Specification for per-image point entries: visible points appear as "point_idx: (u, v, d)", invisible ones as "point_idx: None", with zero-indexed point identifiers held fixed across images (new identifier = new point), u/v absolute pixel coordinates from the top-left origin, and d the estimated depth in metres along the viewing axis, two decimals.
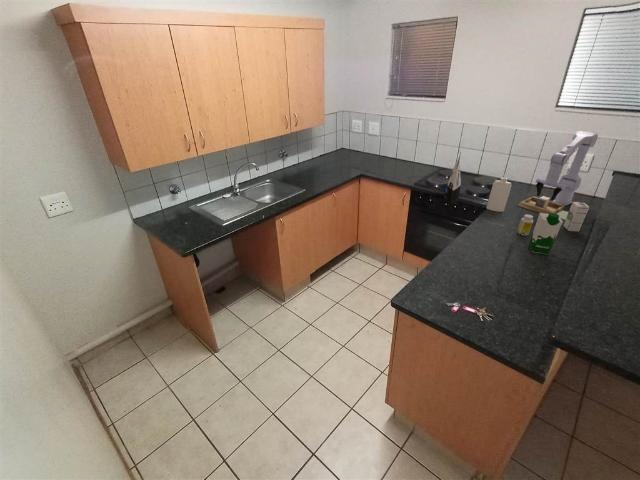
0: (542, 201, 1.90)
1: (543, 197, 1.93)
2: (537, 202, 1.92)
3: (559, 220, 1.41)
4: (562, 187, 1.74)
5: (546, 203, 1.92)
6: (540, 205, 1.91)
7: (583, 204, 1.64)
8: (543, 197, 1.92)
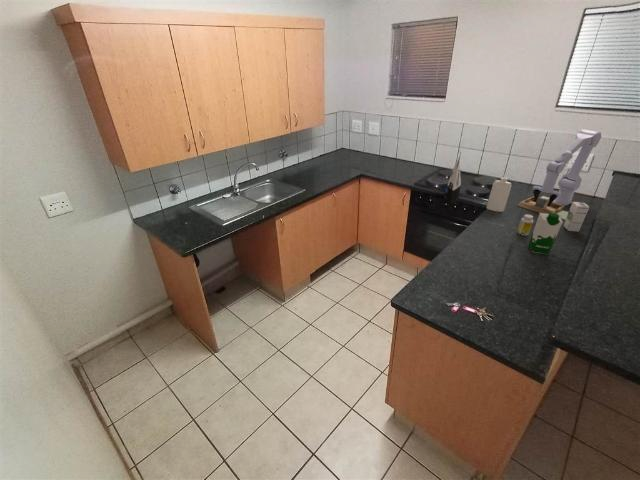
0: (542, 201, 1.90)
1: (543, 197, 1.93)
2: (537, 202, 1.92)
3: (559, 220, 1.41)
4: (558, 194, 1.84)
5: (546, 203, 1.92)
6: (540, 205, 1.91)
7: (583, 204, 1.64)
8: (543, 197, 1.92)
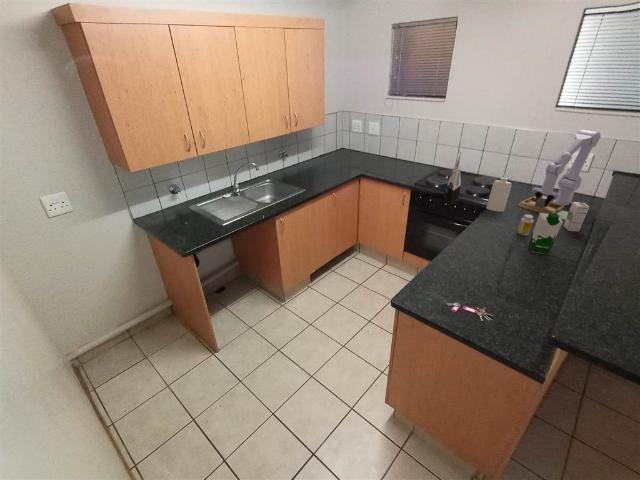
0: (542, 201, 1.90)
1: (543, 197, 1.93)
2: (537, 202, 1.92)
3: (559, 220, 1.41)
4: (557, 195, 1.84)
5: None
6: (540, 205, 1.91)
7: (583, 204, 1.64)
8: (543, 197, 1.92)
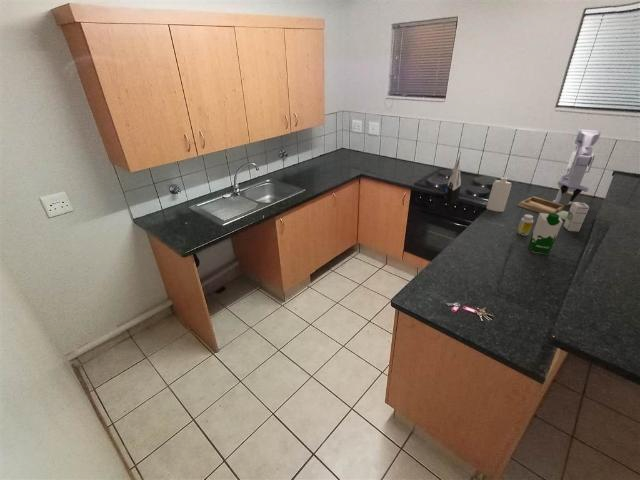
0: (568, 196, 1.78)
1: (569, 192, 1.81)
2: (562, 197, 1.80)
3: (559, 220, 1.41)
4: (585, 189, 1.72)
5: None
6: (566, 200, 1.79)
7: (583, 204, 1.64)
8: (569, 193, 1.80)
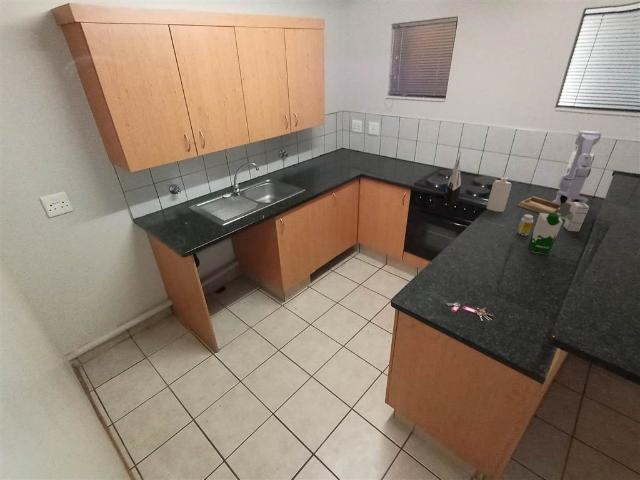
0: (567, 206, 1.79)
1: (568, 202, 1.83)
2: (562, 207, 1.82)
3: (559, 220, 1.41)
4: (584, 200, 1.74)
5: None
6: (565, 210, 1.81)
7: (583, 204, 1.64)
8: (568, 203, 1.82)
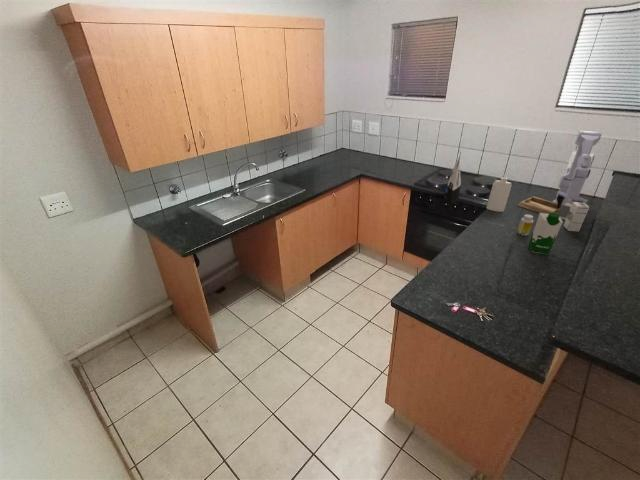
0: (566, 208, 1.80)
1: (567, 204, 1.83)
2: (561, 209, 1.82)
3: (559, 220, 1.41)
4: (584, 201, 1.74)
5: None
6: (564, 212, 1.81)
7: (583, 204, 1.64)
8: (567, 204, 1.83)
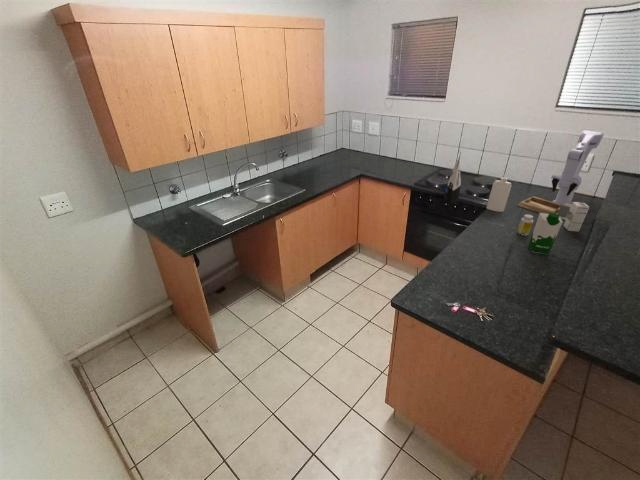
0: (566, 208, 1.80)
1: (567, 204, 1.83)
2: (561, 209, 1.82)
3: (559, 220, 1.41)
4: (578, 183, 1.78)
5: None
6: (564, 212, 1.81)
7: (583, 204, 1.64)
8: (567, 204, 1.83)
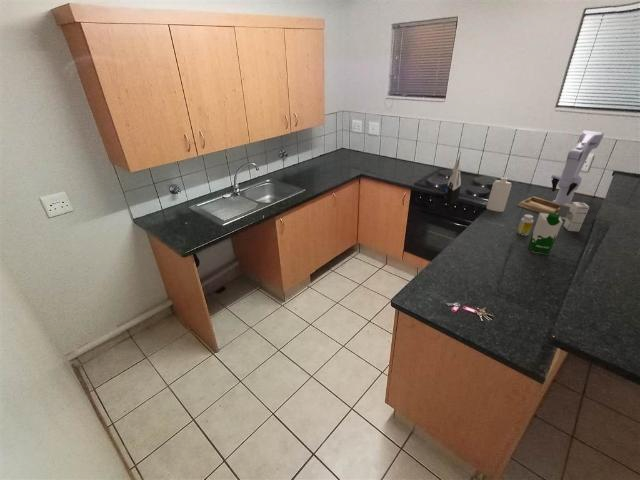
0: (566, 208, 1.80)
1: (567, 204, 1.83)
2: (561, 209, 1.82)
3: (559, 220, 1.41)
4: (578, 182, 1.78)
5: None
6: (564, 212, 1.81)
7: (583, 204, 1.64)
8: (567, 204, 1.83)
